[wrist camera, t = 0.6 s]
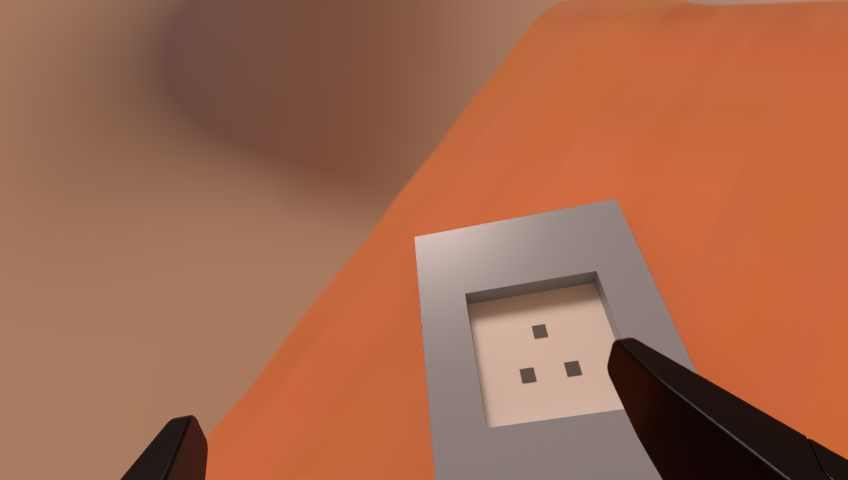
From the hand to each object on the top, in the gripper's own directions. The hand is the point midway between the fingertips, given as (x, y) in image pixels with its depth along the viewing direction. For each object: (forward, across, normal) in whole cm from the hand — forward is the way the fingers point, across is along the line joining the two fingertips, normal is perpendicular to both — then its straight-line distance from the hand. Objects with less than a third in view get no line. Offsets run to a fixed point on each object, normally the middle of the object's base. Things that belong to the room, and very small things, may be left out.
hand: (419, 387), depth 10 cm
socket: (+9, -8, +10) cm, 15 cm away
